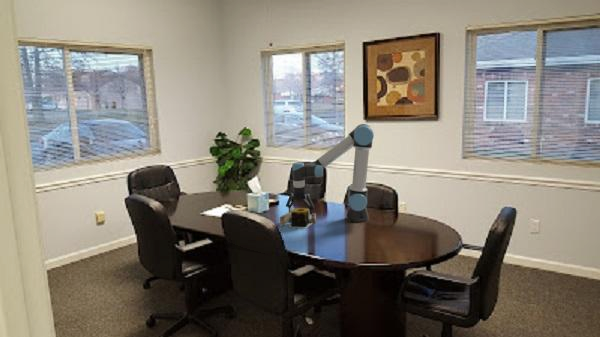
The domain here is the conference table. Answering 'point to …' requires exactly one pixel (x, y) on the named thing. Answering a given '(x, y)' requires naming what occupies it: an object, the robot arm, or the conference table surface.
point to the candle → (300, 217)
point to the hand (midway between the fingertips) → (300, 218)
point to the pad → (301, 227)
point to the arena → (286, 218)
